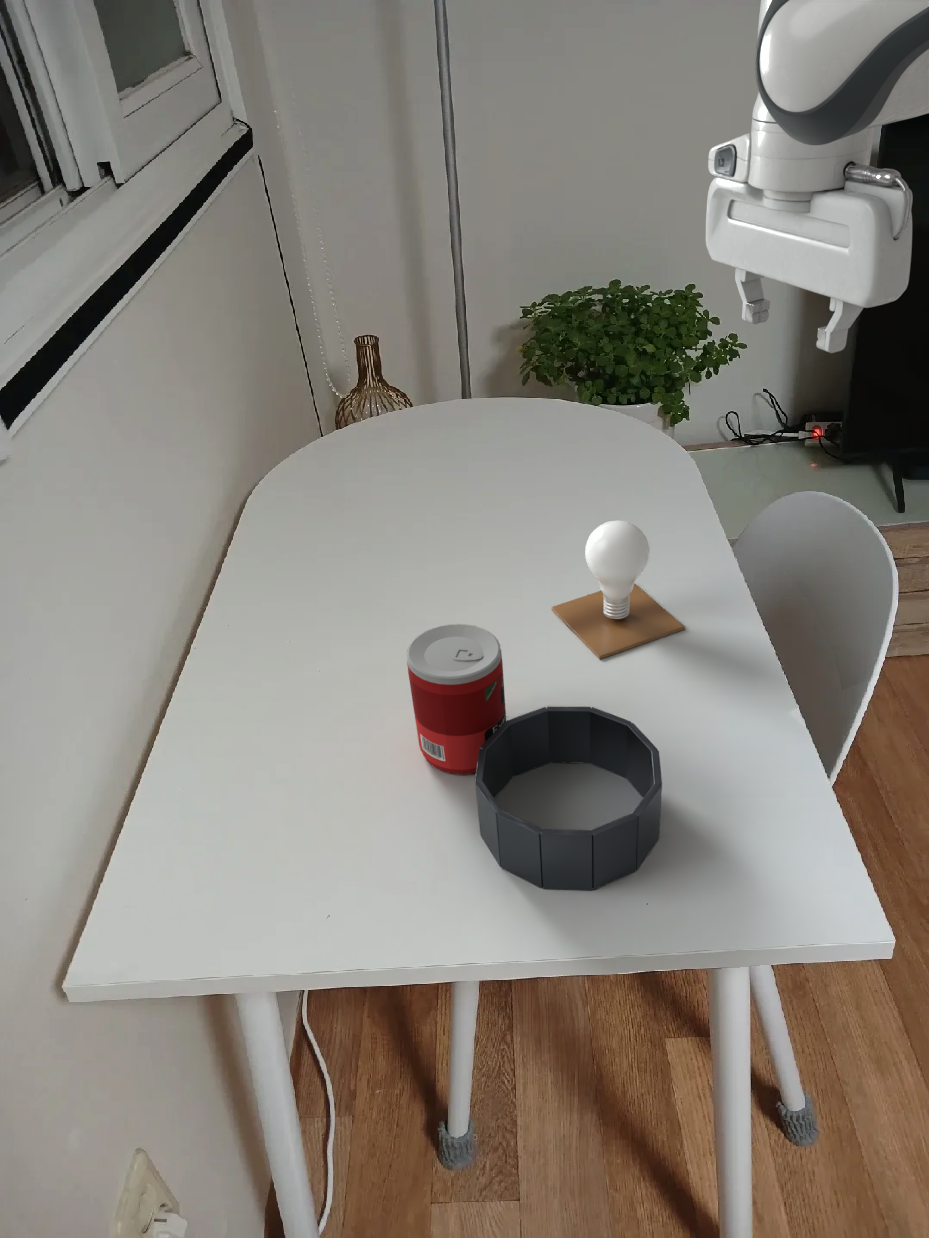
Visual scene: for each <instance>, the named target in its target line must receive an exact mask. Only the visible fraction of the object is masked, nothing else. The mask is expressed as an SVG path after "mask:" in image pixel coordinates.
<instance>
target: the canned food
mask: <svg viewBox="0 0 929 1238" xmlns="http://www.w3.org/2000/svg"><path fill="white" fill-rule="evenodd" d="M406 664H407V673H408V680H409V687H410V693H411V699H412V707H413V713H414V719H415V726H416V727H415V728H416V733H417V739H418V747H419V750H420V752H421V754H422V755H423V757H424V759H425V760H426V762H427V763H428V764H429V765H431V767H432V768H434V769H436V770H438V771H441V772H443V773H447V774H450V775H472V774H476V768H477V761H478V753H479V749H480V747H481V746H482V745H483V744H484V743H485V742H486V741H487V740H488V739H489V738H490V737H491V736H492V735H493V734H494V733H495V732H496V731H497V729H498V728H499V727H500V726H501V725H502V724H503V723H504V722H506V721H507V712H506V711H507V710H506V697H505V695H506V694H505V680H504V679H505V678H504V667H503V665H504V664H503V656H502V649H501V643H500V642H499V639H498V638H497V637H496V636H495V635H494V633H492V632H491V631H489V630H487V629H484V628H483V627H479V626H476V625H472V624H467V623H466V624H464V623H451V624H445V625H439V626H436V627H432V628H429V629H428V630H425V631H423V632H421V633H420V634H418V635H416V637H415V638H413V640H412V641H411V642H410V643H409V645H408V647H407V650H406Z"/></svg>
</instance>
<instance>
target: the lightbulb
mask: <svg viewBox="0 0 929 1238" xmlns="http://www.w3.org/2000/svg"><path fill="white" fill-rule="evenodd" d="M584 557H585V562H586V565H587V567H588V569H589V571H590V572H591V574H592V575H593V576H594V577H595V579H596V580H597V581H598V583H599V588H600V591H602V593H603V597H604V599H603V601H604V603H603V604H604V606H603V608H604V609H603V612H604V615H605V616H607V617H608V618H611V619H622V618H625V617H626V616H628V615H629V610H630V608H629V607H630V604H629V603H630V593H631V592H632V590H633V586H634V583H635V582H636V581H637V579H638V578H640V576H641V575H642V574H643V572H644V571H645V570H646V568H647V566H648V564H649V560H650V543H649V540H648V539H647V536H646V535H645V533H644V532H643V531H642V529H640V528H639V527H638V526H637V525H635V524H634V523H631V522H630V521H627V520H619V519H616V520H615V519H614V520H610V521H609V520H608V521H606V522H604V523H601V524H600V525H598V526H596V528H594V530H593V531H592V532H591V533H590V534H589V536H588V538H587V541H586V544H585V547H584ZM635 584H636V583H635Z"/></svg>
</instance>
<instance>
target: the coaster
mask: <svg viewBox="0 0 929 1238" xmlns="http://www.w3.org/2000/svg"><path fill="white" fill-rule="evenodd" d="M603 599H604V597H603V593H602V591H601V590H599V591H596V592H593V593H590V594H586V595H583V596H580V597H578V598H574V599H571V600H569V601H566V602H562V603H560V604H557V605H556V604H555V605H553V606H551V607H550V610H551V611H552V612H553V613H554V614H555V616H557V618H559V619H560V620H561V622H563V624H564V625H565V626H566V627H567V628H568V629H569V630H570V631H571V632H572V633H573V634H574V635H575V636H576V637H577V638H578V639H579V640H580V641H581V642H582V643H583V644H584V645H585V646H586V647H587V648H588V649H589V650H590V651H591V652H592V653H593V654H594V656H595V657H597V658H598V660H601V659H604V658H607V657H610V656H613V655H616V654H618V653H621V652H625V651H627V650H630V649H633V648H635V647H638V646H641V645H644V644H647V643H650V642H652V641H655V640H658V639H660V638H664V637H666V636H669V635H672V634H675V633H678V632H681V631H683V630H685V625H683V623H681V622H680V621H679V620H678V619H677V618H675V616H673V615H672V614H671V613H669V611H667V610H666V609H665V608H664V607H663V606H662V605H660V603H658V602H657V601H656V600H654V599H653V598H652V597H651V596H650V595H649V594H648V593H646V592H645V591H644V590H643V589H642V588H640V586H638V585H637V584H636V583H634V586H633V590H632V592H631V593H630V603H629V604H630V607H629V608H630V610H629V615H628V616H626V617H625V618H622V619H611V618H608V617H607V616H605V615H604V612H603V609H604V608H603V606H604V604H603V603H604V601H603Z"/></svg>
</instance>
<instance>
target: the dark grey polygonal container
mask: <svg viewBox="0 0 929 1238" xmlns="http://www.w3.org/2000/svg"><path fill="white" fill-rule="evenodd" d="M547 764H591V765H592V766H595V767H597V768H600V769H603V770H605V771H607V772H610V773H612V774H614V775H617V776H620V777H622V778H625V779H626V780H627V781H628V782H629V784H631V786H632V787H633V788H634V789H635V790H636V792H637V793H638V795H640V796H641V797H642V799H641V800H640V802H639V803H638V804H637V805H636V807H635V809H634V810H633V811H632V812H631V813H628V814H626V815H624V816H621V817H619V818H616V819H613V820H612V821H609V822H606V823H605V824H602V825H599V826H597V827H595V828H592V829H566V828H564V829H563V828H541V827H539V826H537V825H535V824H533V823H531V822H528V821H526V820H524V819H522V818H520V817H518V816H516V815H513V814H511V813H510V812H507V811H505V810H503V809H502V808H501V806H500V804H499V803H498V801H496V799H495V798H496V797H497V796H498V795H499V794H500V792H502V790H503V789H504V788H505V787H506V786H507V785H508V784H509V782H510V781H511V780H512V779H513V778H514V777H516V776H519V775H522V774H524V773H528V772H529V771H532V770H534V769H537V768H540V767H542V766H545V765H547ZM662 779H663V778H662V769H661V757H660V750H659V749H658V748H657V747H656V746H655V745H654V744H653V743H652V741H651V740H650V739H649V738H648V737H647V736H646V735H645V734H644V733H643V732H642V731H641V730H640V728H639V727H638V726H637V725H636V724H635V723H634V722H632V721H631V720H629V719H626V718H623V717H620V716H618V715H615V714H612V713H611V712H607V711H604V710H602V709H599V708H596V707H594V706H551V705H549V706H543V707H541V708H538V709H535V710H533V711H529V712H526V713H524V714H521V715H519V716H516V717H513V718H510V719H506V722H504V723H503V724H502V725H501V726H500V727H499V728H498V729H497V731H496V732H495V733H494V734H493V735H492V736H491V737H490V738H489V739H488V740H487V741H486V742H485V743H484V744H483V745H482V746H481V747H480V749H479V753H478V761H477V768H476V773H475V776H474V786H475V787H474V788H475V797H476V798H475V799H476V806H477V807H476V808H477V817H478V826H479V834H480V838H481V839H482V840H483V842H484V843H485V845H486V847H487V848H488V850H489V852H490V853H491V856H492V857H493V858H494V860H495V861H496V863H497V864H498V866H499V867H500V868H501V869H502V870H504V871H506V872H507V873H510V874H512V875H513V876H515V877H518V878H520V879H521V880H524V881H525V882H527V883H530V884H532V885H534V886H536V887H537V888H540V889H543V890H563V891H596V890H598V889H600V888H602V887H604V886H607V885H609V884H611V883H613V882H616V881H618V880H620V879H623V878H625V877H627V876H630V875H632V874H634V873H636V872H637V871H638V870H639V869H640V867H641V866H642V864H643V863H644V861H645V860H646V859H647V857H648V856H649V854H650V853H651V851H652V850H653V849H654V847H655V846H656V845H657V843H658V841H659V839H660V831H661V830H660V828H661V811H662V810H661V809H662V795H663V794H662V792H663V780H662Z"/></svg>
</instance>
